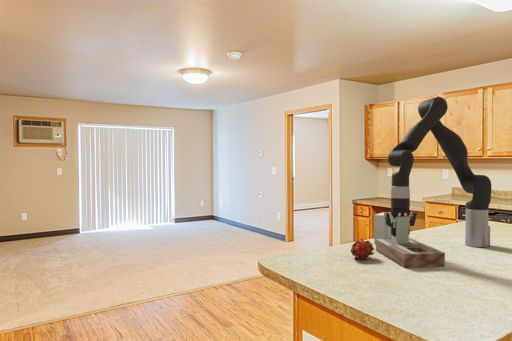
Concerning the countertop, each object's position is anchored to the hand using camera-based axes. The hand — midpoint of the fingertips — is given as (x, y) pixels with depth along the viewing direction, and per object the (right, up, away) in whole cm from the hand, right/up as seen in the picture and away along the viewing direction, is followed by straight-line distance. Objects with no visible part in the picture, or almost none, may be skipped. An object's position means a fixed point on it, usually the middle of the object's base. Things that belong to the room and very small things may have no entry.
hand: (400, 235), depth 157 cm
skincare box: (-1, -8, +19) cm, 20 cm away
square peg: (0, -5, 0) cm, 5 cm away
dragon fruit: (-19, -8, -7) cm, 21 cm away
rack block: (0, -8, -6) cm, 10 cm away
